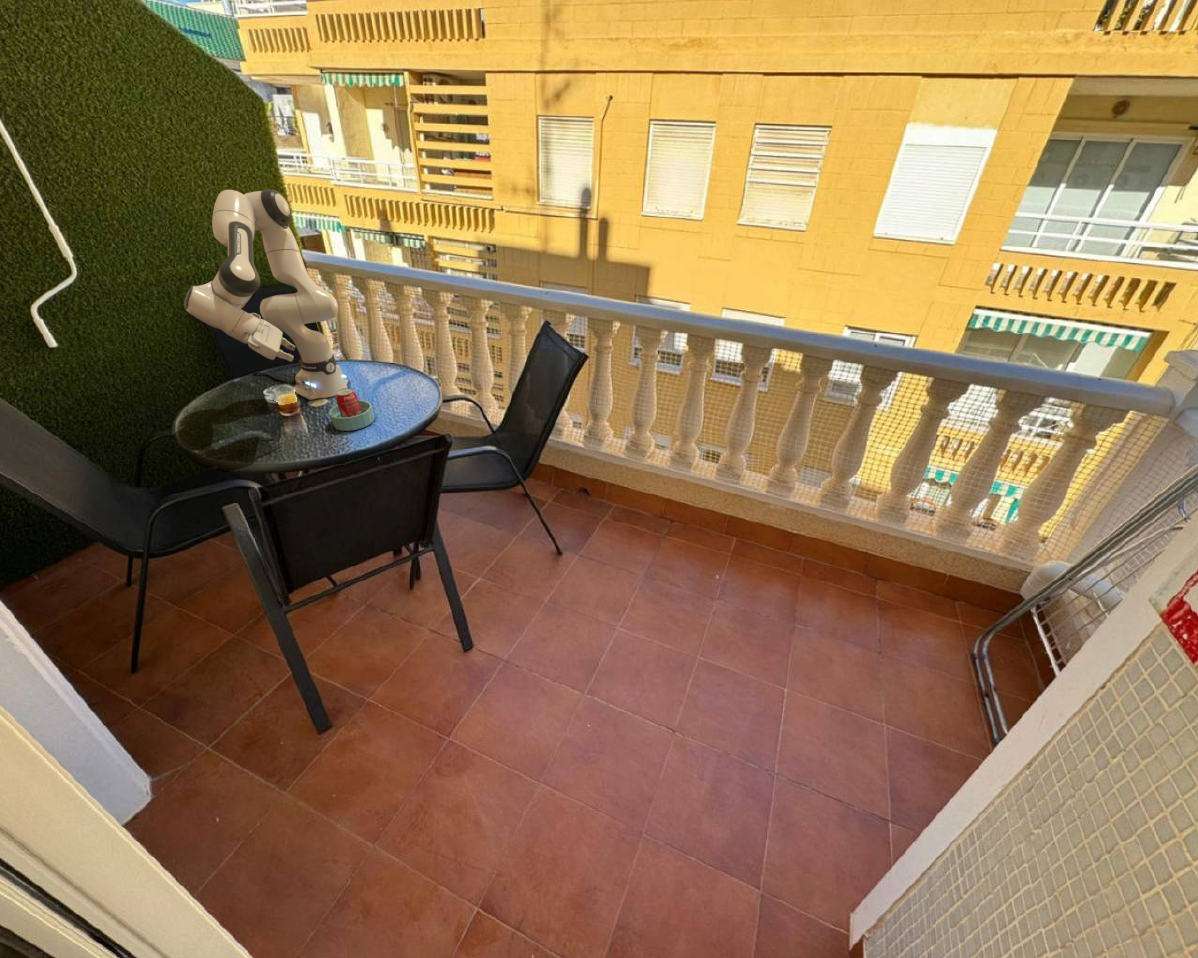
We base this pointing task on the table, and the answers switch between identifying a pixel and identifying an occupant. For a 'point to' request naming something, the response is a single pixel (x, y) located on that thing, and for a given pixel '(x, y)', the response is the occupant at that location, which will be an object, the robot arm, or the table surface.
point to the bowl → (354, 421)
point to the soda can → (348, 403)
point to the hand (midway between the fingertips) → (293, 354)
